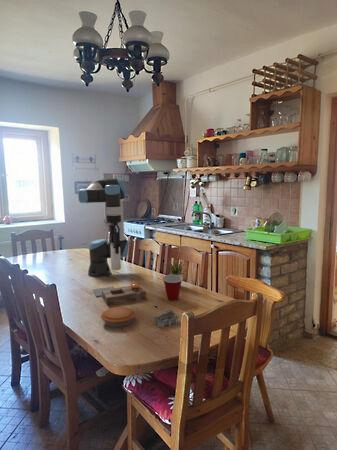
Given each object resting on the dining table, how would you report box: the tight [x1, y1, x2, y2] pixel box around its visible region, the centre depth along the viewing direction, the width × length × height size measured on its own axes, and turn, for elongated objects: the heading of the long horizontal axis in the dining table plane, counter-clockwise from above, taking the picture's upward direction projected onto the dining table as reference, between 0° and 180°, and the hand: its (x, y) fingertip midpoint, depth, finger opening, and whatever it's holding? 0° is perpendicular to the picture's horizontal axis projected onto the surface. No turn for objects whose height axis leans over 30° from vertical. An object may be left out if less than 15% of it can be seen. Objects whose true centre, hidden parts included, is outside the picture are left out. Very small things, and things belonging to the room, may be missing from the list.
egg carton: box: [152, 309, 180, 328], centre depth 142 cm, size 11×8×4 cm
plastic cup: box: [162, 273, 184, 302], centre depth 169 cm, size 11×11×12 cm
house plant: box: [166, 259, 186, 288], centre depth 188 cm, size 14×14×16 cm
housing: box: [101, 285, 147, 306], centre depth 172 cm, size 13×21×4 cm, turn 113°
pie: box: [100, 306, 136, 328], centre depth 144 cm, size 16×16×5 cm
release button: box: [130, 282, 140, 290], centre depth 174 cm, size 4×4×6 cm
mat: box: [92, 286, 115, 298], centre depth 183 cm, size 12×12×1 cm
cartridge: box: [110, 242, 122, 271], centre depth 168 cm, size 5×5×14 cm
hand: (115, 258), depth 168 cm, fingers closed on cartridge, 5 cm apart
